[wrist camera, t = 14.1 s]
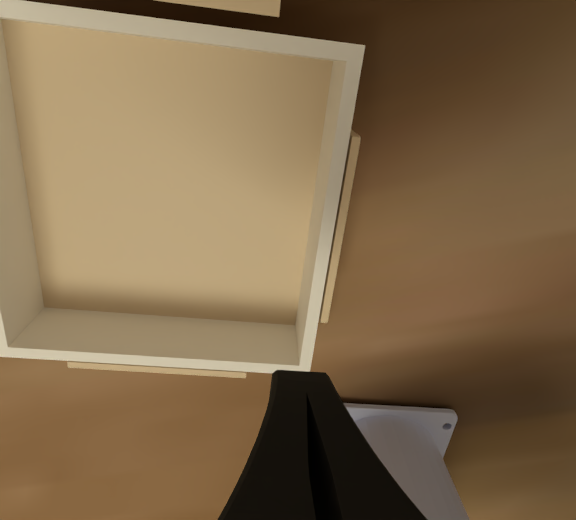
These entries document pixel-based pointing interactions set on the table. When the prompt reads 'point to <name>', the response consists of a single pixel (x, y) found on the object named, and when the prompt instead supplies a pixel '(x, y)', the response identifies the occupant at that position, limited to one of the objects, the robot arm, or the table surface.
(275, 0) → the flap
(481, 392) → the table surface
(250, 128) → the carton
